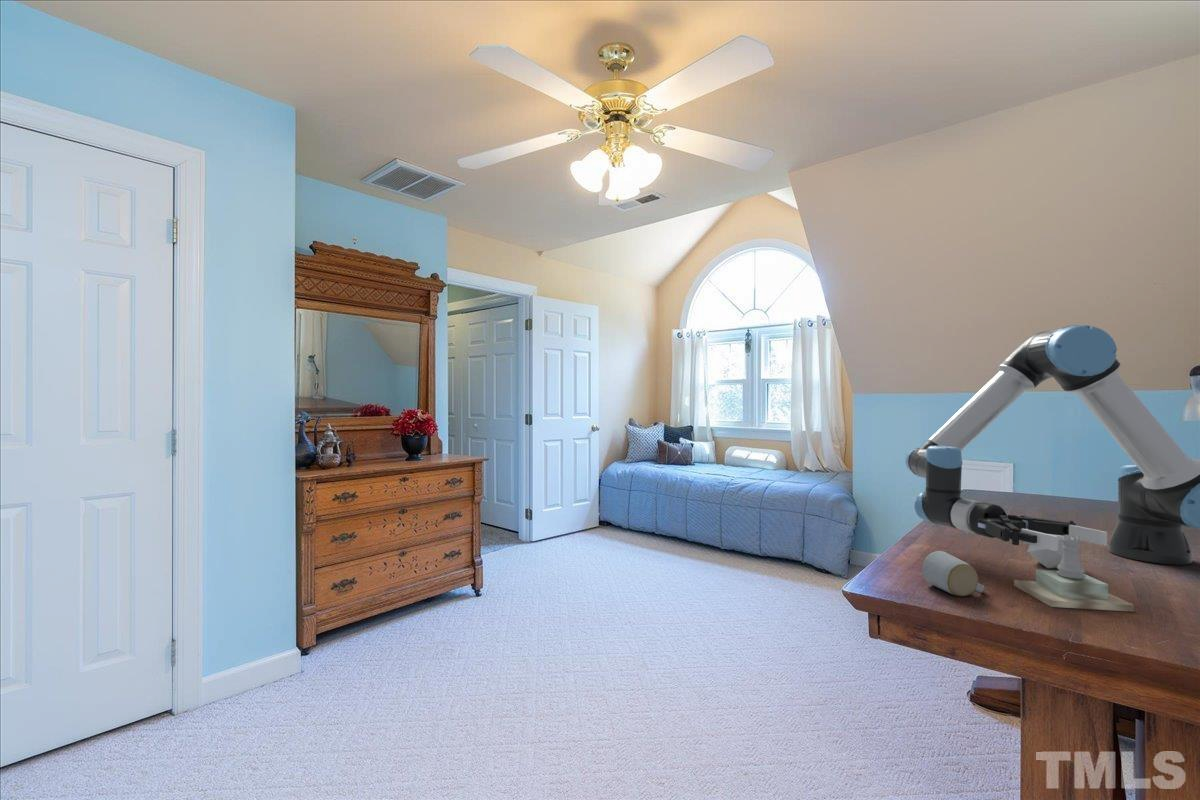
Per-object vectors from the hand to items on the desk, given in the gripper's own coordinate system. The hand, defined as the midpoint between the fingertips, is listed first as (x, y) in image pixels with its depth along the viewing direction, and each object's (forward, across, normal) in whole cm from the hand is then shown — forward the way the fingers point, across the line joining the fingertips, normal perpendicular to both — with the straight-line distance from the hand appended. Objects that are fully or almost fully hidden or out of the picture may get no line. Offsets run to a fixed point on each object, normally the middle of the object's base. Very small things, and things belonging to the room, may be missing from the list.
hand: (1081, 541), depth 110 cm
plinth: (-2, 0, -12) cm, 12 cm away
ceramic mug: (-12, +18, -12) cm, 25 cm away
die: (-18, -19, -12) cm, 29 cm away
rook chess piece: (-2, 0, -8) cm, 8 cm away
